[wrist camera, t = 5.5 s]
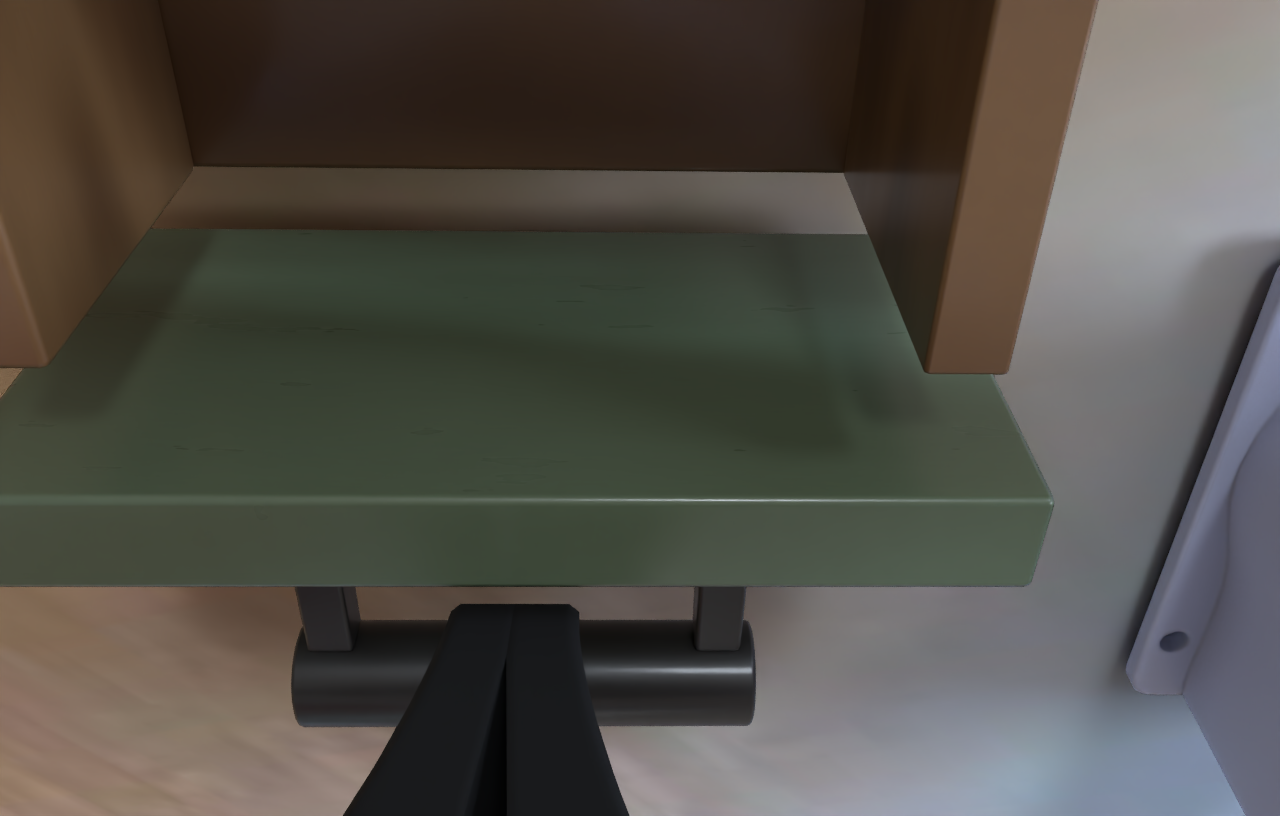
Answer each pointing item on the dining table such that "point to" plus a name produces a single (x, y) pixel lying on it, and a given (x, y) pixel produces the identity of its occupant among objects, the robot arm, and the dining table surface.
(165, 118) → the drawer
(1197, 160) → the dining table surface
